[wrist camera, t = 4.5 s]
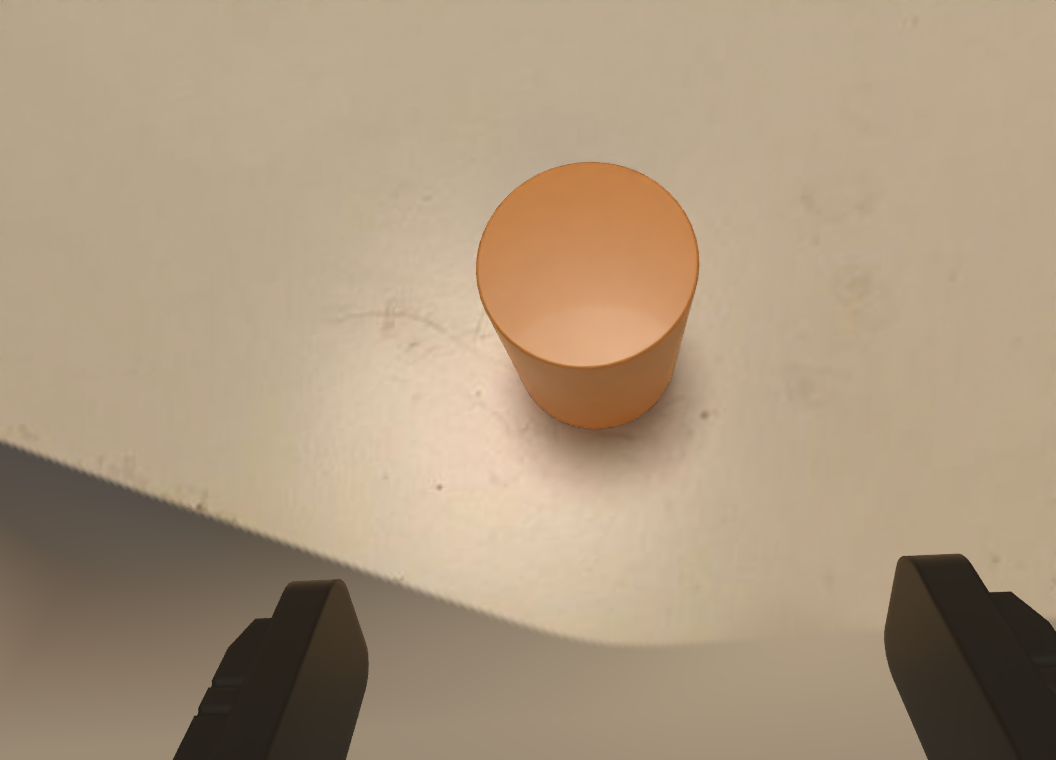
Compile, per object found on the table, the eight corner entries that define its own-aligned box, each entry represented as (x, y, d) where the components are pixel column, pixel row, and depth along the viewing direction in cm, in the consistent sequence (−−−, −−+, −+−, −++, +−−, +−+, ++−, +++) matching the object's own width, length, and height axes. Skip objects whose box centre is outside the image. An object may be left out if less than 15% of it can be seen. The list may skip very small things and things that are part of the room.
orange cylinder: (603, 462, 23) (596, 415, 16) (486, 360, 25) (430, 275, 17) (708, 342, 24) (747, 246, 17) (587, 249, 25) (575, 122, 18)
